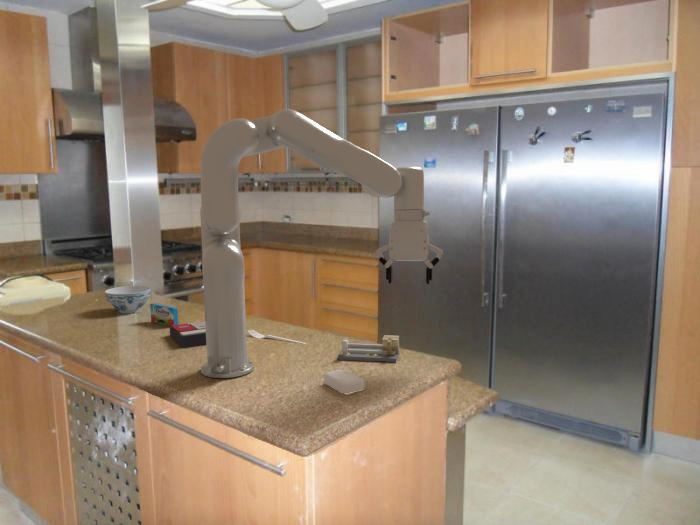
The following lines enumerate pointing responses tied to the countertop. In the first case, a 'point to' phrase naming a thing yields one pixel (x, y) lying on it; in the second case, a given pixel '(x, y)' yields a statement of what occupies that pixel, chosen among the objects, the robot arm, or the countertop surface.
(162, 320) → the blue thin box
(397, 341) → the tan slider block
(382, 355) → the switch panel
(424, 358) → the countertop surface
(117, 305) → the chinaware
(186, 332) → the calculator
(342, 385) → the soap
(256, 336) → the fork
